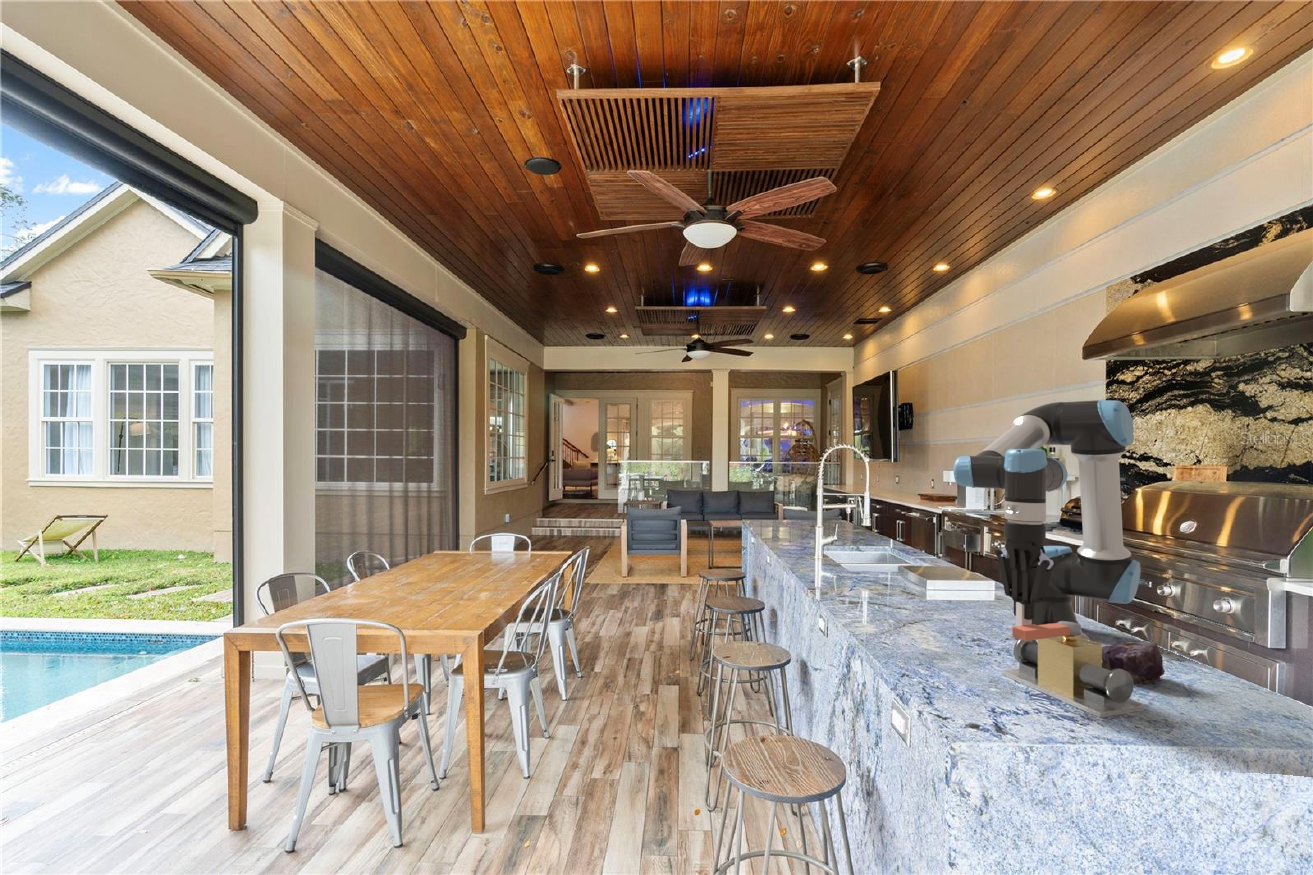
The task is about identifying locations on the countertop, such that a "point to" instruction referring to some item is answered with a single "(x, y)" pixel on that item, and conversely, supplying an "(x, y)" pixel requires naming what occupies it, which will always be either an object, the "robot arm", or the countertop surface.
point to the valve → (1074, 675)
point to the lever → (1046, 630)
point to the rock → (1135, 660)
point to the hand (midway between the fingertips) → (1023, 633)
